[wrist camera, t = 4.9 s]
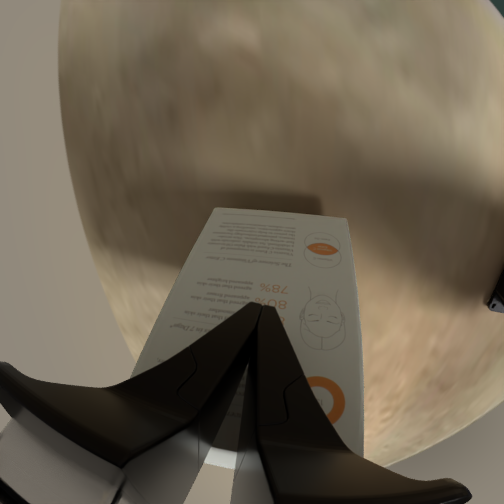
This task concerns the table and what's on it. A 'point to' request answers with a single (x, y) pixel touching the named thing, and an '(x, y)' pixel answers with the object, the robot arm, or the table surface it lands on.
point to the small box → (282, 298)
